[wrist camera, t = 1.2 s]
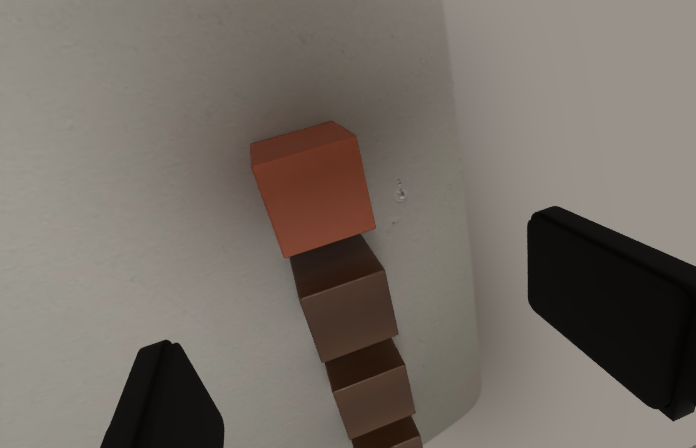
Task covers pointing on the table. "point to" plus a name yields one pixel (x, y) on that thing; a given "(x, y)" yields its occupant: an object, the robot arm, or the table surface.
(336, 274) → the small boxes
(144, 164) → the table surface
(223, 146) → the table surface
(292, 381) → the table surface
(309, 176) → the orange-red cube
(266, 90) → the table surface
